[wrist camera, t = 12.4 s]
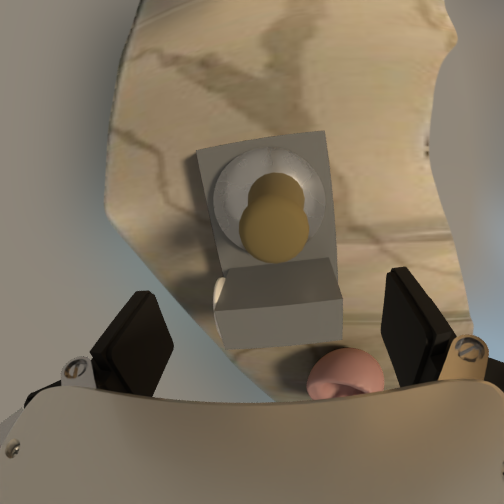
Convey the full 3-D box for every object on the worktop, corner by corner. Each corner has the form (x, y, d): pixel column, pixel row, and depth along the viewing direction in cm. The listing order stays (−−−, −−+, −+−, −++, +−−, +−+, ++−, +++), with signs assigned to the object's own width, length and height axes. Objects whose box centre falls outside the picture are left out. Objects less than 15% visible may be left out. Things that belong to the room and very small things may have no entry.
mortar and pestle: (290, 357, 43) (290, 414, 33) (352, 319, 39) (369, 375, 29) (329, 389, 46) (335, 440, 36) (385, 358, 42) (402, 409, 31)
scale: (203, 148, 32) (163, 157, 21) (320, 131, 29) (342, 128, 18) (234, 297, 39) (218, 356, 28) (334, 286, 37) (351, 345, 26)
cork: (238, 185, 29) (214, 214, 19) (291, 163, 27) (298, 179, 17) (261, 235, 31) (251, 286, 21) (313, 215, 29) (328, 259, 19)
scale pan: (205, 157, 29) (203, 158, 28) (317, 140, 27) (318, 140, 26) (226, 257, 33) (225, 261, 33) (328, 246, 32) (329, 249, 31)
